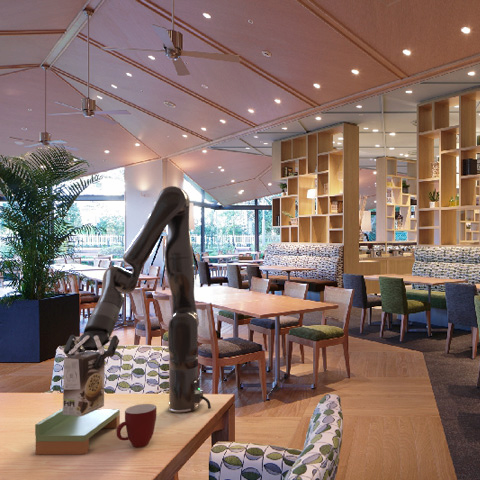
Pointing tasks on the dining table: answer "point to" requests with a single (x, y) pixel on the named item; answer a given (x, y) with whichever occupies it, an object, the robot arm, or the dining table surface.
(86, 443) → the shelf
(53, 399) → the dining table surface
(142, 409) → the mug
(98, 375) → the coffee box
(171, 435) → the dining table surface
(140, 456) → the dining table surface
